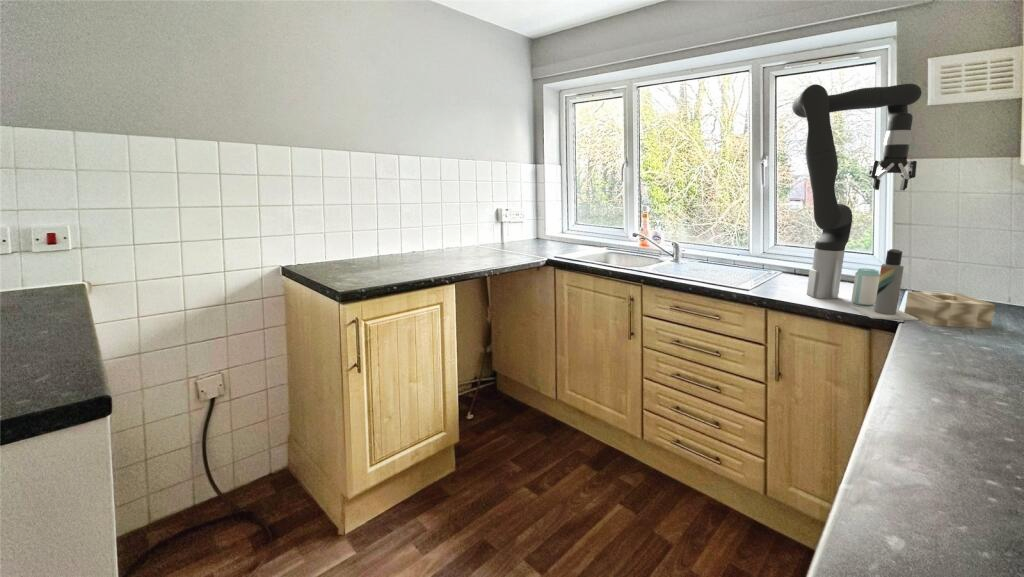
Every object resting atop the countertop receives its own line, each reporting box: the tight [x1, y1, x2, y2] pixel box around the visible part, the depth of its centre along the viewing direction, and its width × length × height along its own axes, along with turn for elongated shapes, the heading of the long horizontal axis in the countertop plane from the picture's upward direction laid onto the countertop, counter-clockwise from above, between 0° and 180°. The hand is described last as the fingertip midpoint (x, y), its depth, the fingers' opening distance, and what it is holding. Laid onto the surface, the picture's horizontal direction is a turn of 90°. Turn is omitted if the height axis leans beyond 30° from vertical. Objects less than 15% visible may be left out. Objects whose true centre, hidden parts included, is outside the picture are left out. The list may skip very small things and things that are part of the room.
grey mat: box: [852, 306, 919, 321], centre depth 166 cm, size 13×13×1 cm
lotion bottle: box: [874, 248, 904, 315], centre depth 164 cm, size 6×6×20 cm
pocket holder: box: [903, 291, 996, 329], centre depth 159 cm, size 15×15×7 cm
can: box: [850, 267, 880, 307], centre depth 179 cm, size 7×7×12 cm
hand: (889, 190), depth 191 cm, fingers open, 8 cm apart
